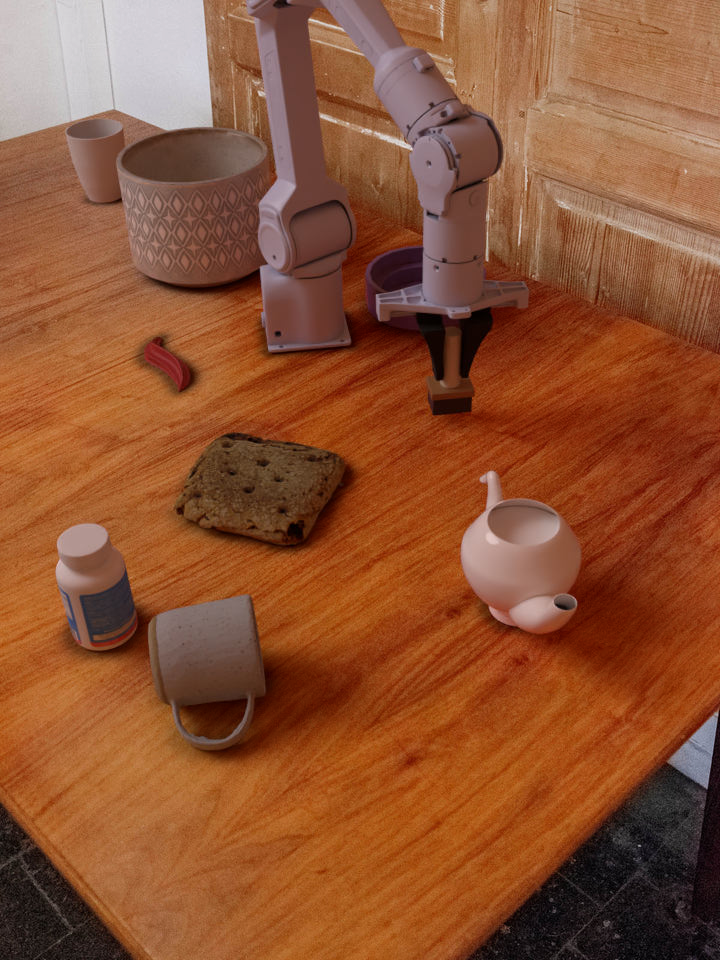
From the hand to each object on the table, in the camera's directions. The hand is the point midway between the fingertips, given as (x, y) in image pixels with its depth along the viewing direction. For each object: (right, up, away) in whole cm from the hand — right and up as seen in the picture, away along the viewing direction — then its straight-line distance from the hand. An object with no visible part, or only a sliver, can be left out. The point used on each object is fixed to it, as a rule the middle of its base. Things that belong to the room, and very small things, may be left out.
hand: (450, 374), depth 110 cm
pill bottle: (-30, -23, -19) cm, 43 cm away
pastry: (-18, -12, -5) cm, 23 cm away
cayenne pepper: (-31, +2, +13) cm, 34 cm away
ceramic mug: (-20, -28, -25) cm, 43 cm away
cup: (-46, +31, +51) cm, 75 cm away
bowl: (-1, +10, +22) cm, 25 cm away
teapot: (+4, -21, -18) cm, 29 cm away
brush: (0, -3, +2) cm, 4 cm away
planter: (-29, +18, +33) cm, 48 cm away
